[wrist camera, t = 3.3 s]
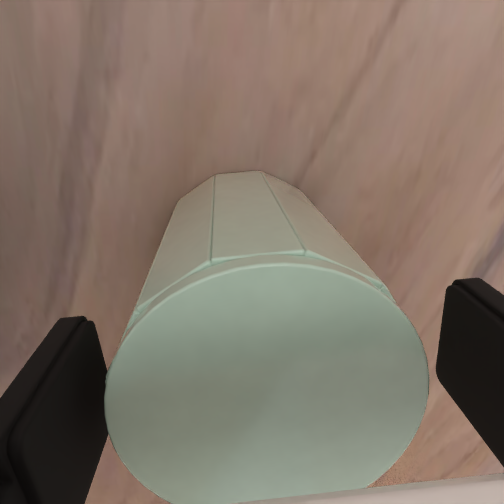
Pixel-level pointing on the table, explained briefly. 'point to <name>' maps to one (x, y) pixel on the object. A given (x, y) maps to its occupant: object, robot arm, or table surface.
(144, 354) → the cup
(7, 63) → the table surface
